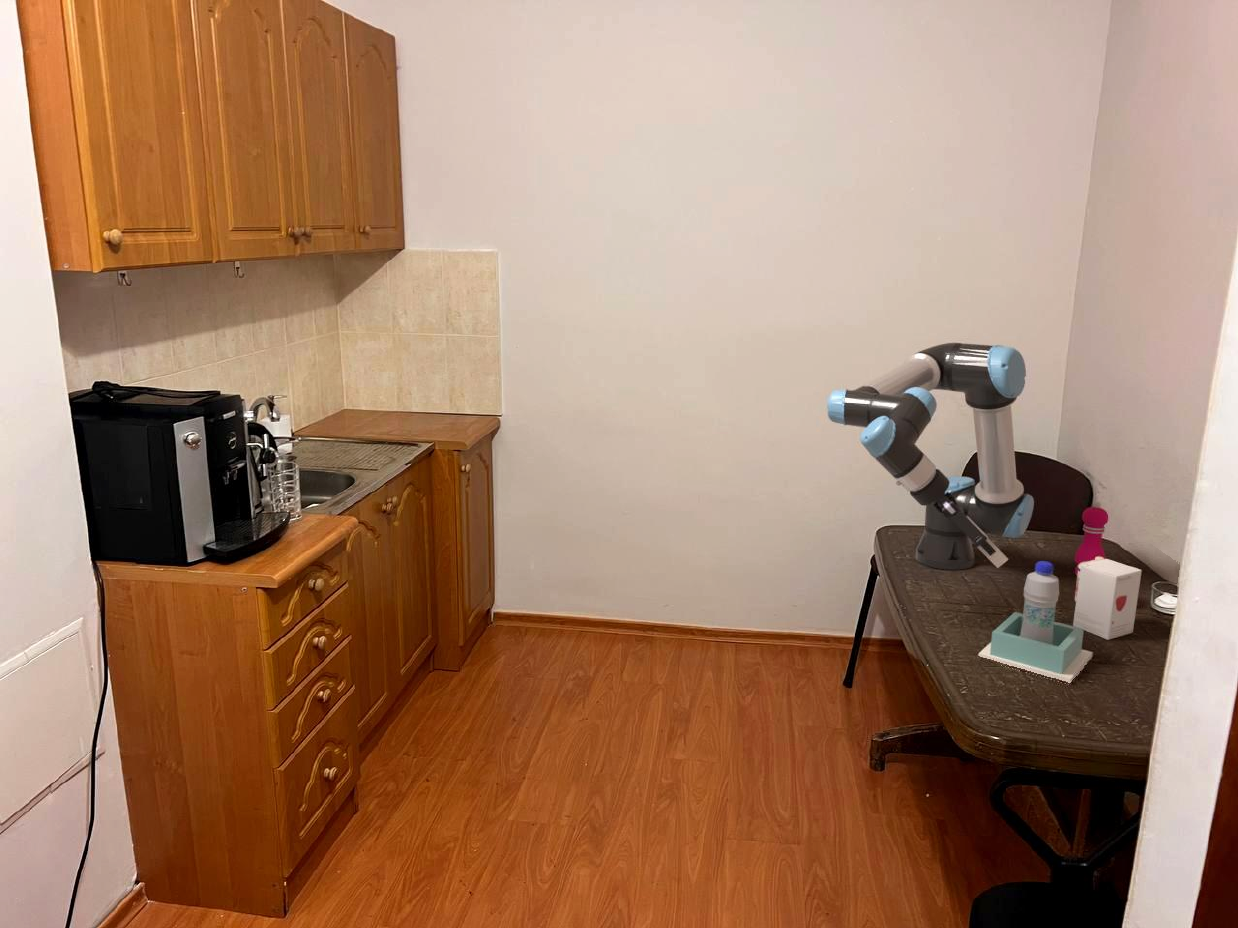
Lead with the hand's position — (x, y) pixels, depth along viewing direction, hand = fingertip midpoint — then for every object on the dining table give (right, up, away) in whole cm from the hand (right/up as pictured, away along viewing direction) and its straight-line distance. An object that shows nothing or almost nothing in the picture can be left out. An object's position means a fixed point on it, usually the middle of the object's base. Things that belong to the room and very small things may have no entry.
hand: (992, 551), depth 190 cm
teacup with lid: (+37, -16, +31) cm, 51 cm away
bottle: (+10, -22, +3) cm, 24 cm away
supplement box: (+32, -19, +17) cm, 41 cm away
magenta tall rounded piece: (+45, -11, +51) cm, 69 cm away
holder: (+10, -23, +3) cm, 25 cm away
